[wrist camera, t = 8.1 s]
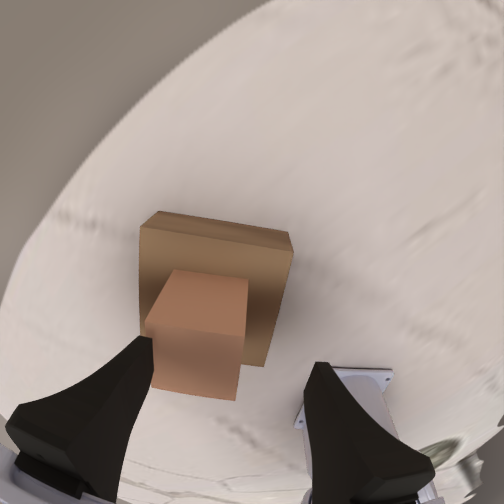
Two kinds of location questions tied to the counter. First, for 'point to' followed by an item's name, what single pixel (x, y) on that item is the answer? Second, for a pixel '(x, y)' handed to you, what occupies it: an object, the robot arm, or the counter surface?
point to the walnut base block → (218, 267)
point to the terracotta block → (198, 334)
